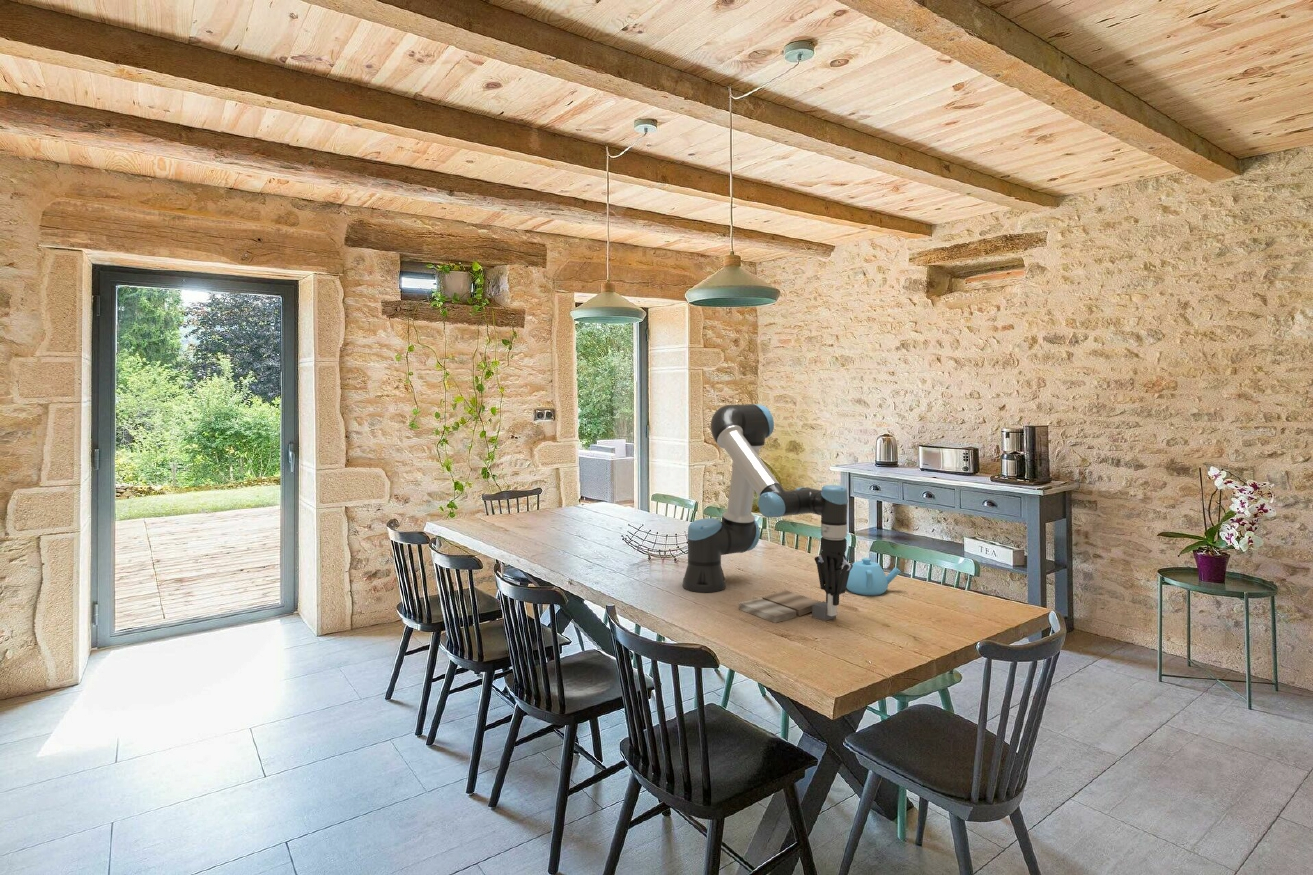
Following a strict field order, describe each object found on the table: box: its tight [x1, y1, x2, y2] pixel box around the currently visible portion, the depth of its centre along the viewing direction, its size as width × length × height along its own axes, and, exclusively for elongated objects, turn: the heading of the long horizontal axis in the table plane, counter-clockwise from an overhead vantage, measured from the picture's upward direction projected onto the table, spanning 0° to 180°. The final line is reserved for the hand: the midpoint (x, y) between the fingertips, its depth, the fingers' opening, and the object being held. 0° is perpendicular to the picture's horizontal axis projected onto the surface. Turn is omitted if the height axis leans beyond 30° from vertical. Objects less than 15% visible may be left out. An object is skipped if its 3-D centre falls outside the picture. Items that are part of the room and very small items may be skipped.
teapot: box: [846, 557, 902, 596], centre depth 241 cm, size 15×17×11 cm
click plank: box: [761, 589, 822, 617], centre depth 223 cm, size 16×10×2 cm, turn 35°
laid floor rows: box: [738, 597, 797, 624], centre depth 217 cm, size 16×9×2 cm, turn 35°
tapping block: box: [811, 601, 837, 622], centre depth 213 cm, size 5×5×4 cm
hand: (832, 614), depth 210 cm, fingers closed
